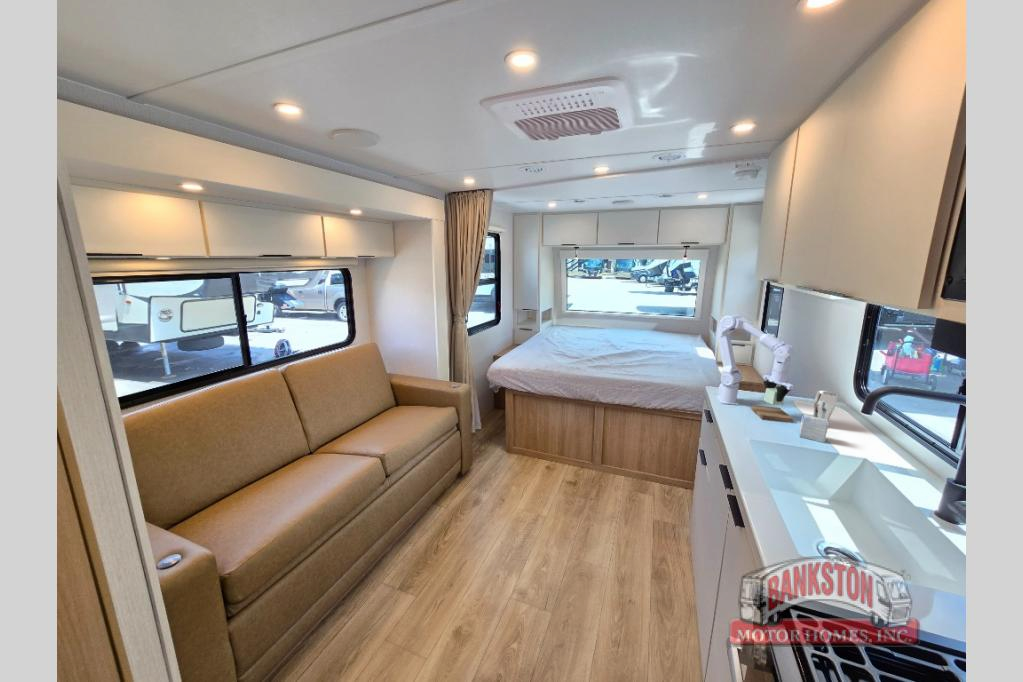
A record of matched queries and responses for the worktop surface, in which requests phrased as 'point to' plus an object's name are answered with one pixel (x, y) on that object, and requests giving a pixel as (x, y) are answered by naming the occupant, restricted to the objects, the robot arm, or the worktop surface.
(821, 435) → the medicine box
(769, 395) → the sage block
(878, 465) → the worktop surface
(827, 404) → the beer glass
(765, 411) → the walnut base
